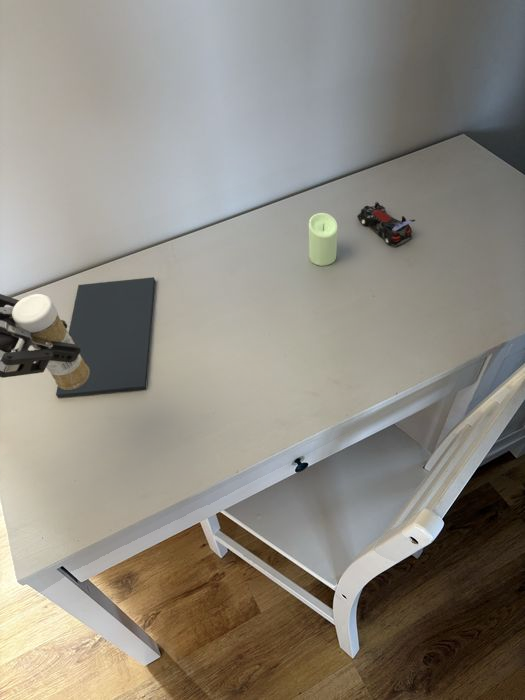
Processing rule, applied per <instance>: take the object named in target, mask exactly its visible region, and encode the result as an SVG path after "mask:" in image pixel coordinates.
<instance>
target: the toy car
mask: <svg viewBox="0 0 525 700" xmlns="http://www.w3.org/2000/svg"><path fill="white" fill-rule="evenodd" d="M356 217H357V220H358V221H360V224H361V225H362V226H368V227H369V229H370V230H372V231H373V232H374V233H375V234H377V236H379V237H381V238H382V239H383V240H384V242H385V244H386V245H390V246H393V247H394V248H396V247H398V246H401V245H402V244H404V243H407V242H408V241H409V240H410V239H413V235H412V233H413V230H412V228H411V226H410V224H411V223H413V222H416V219H409V220H407V218H406V217H405V216H404V215H402V216H401V220H398V219H397V218H394V217H393V216H391V215H389V214H388V212H387V210H386V207H384V205H381V204H380V203H379V202H378V201H375V202H374V205H373V206H369V205H365V206H363V208H361V209H360V213H358V214H357V216H356Z"/></svg>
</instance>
